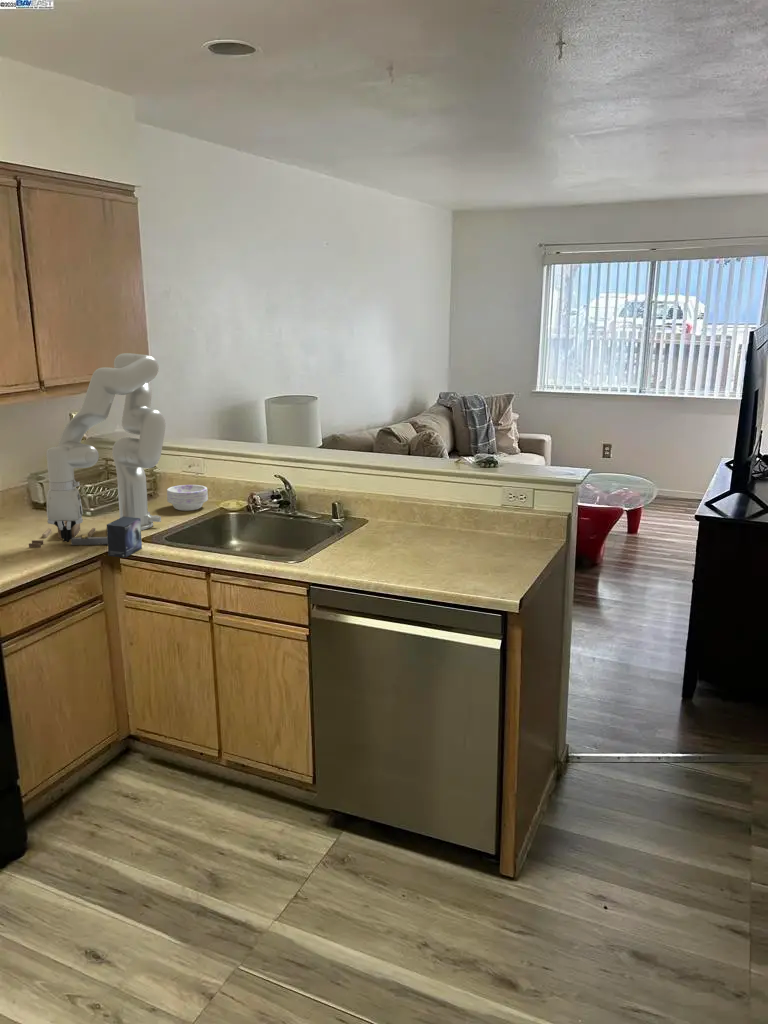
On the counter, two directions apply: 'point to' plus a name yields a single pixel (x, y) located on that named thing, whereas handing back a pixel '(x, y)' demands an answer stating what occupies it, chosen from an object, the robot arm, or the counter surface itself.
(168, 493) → the paper bowls
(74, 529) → the cap block
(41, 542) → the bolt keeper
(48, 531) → the bolt guide rails
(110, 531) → the small box
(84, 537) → the bar
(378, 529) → the counter surface
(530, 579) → the counter surface
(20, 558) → the counter surface
